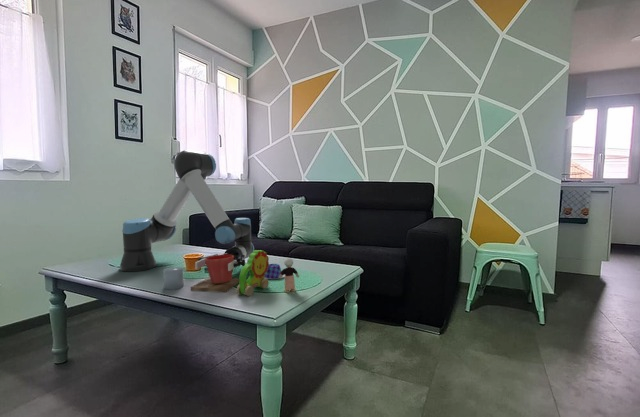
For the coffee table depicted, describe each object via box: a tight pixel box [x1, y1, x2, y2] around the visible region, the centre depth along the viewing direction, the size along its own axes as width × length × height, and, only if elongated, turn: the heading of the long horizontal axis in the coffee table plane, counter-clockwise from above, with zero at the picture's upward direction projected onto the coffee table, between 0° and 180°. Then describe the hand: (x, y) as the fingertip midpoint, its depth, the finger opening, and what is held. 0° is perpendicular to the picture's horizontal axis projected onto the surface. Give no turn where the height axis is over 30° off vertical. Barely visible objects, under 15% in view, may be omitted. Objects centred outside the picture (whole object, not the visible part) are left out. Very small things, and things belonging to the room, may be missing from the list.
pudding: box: [265, 263, 285, 280], centre depth 145 cm, size 12×12×5 cm
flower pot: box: [205, 254, 234, 283], centre depth 131 cm, size 11×11×10 cm
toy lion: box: [236, 249, 270, 297], centre depth 125 cm, size 16×5×15 cm, turn 155°
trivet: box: [190, 276, 239, 293], centre depth 131 cm, size 14×14×1 cm
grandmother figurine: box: [279, 257, 300, 294], centre depth 124 cm, size 8×4×13 cm, turn 123°
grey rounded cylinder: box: [162, 266, 184, 291], centre depth 129 cm, size 7×7×7 cm
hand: (212, 266), depth 127 cm, fingers open, 13 cm apart
